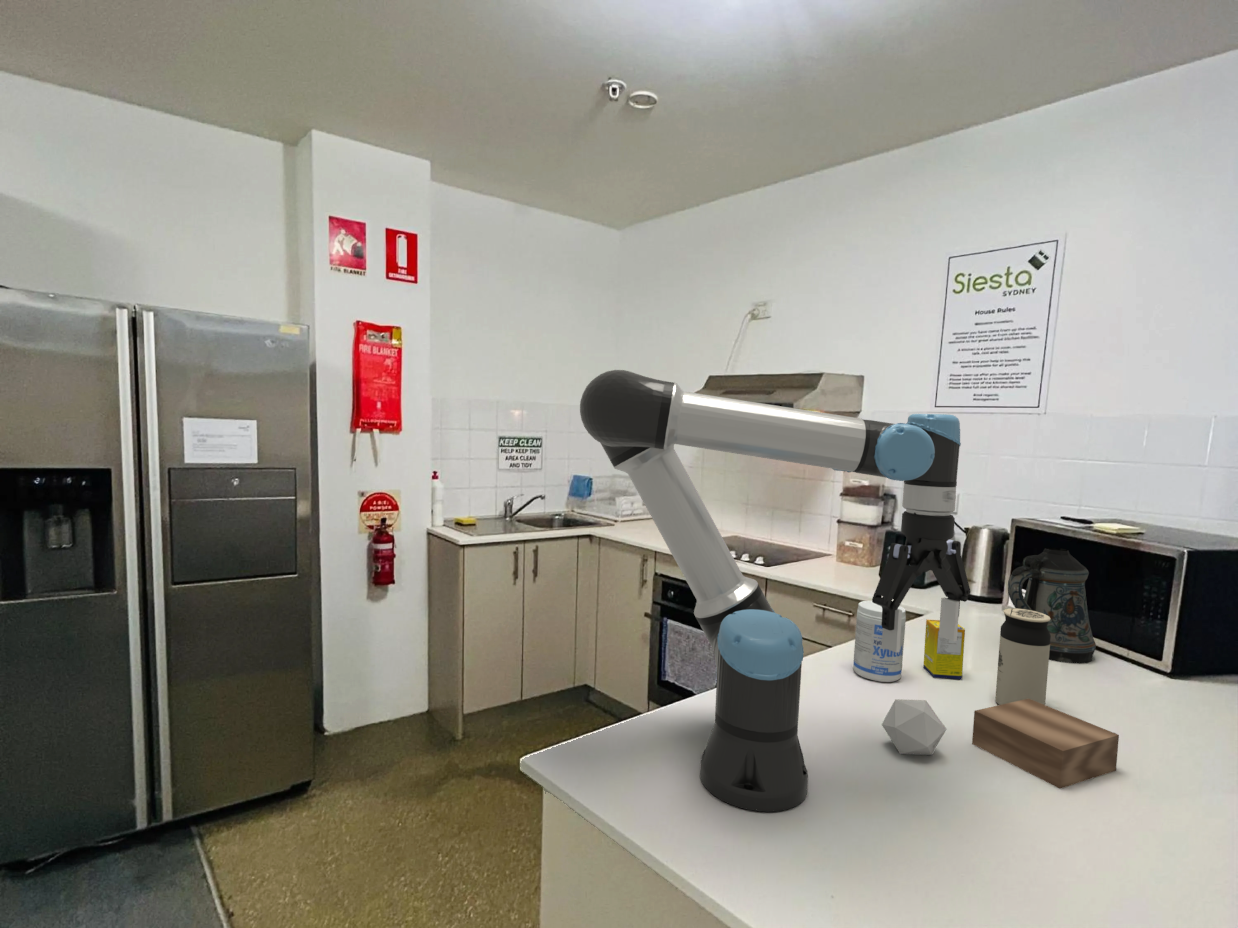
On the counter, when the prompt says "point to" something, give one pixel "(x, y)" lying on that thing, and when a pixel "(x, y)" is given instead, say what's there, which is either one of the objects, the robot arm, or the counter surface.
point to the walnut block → (1046, 742)
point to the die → (913, 727)
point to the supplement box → (943, 652)
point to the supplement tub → (875, 645)
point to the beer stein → (1057, 601)
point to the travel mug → (1023, 657)
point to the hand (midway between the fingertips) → (920, 644)
